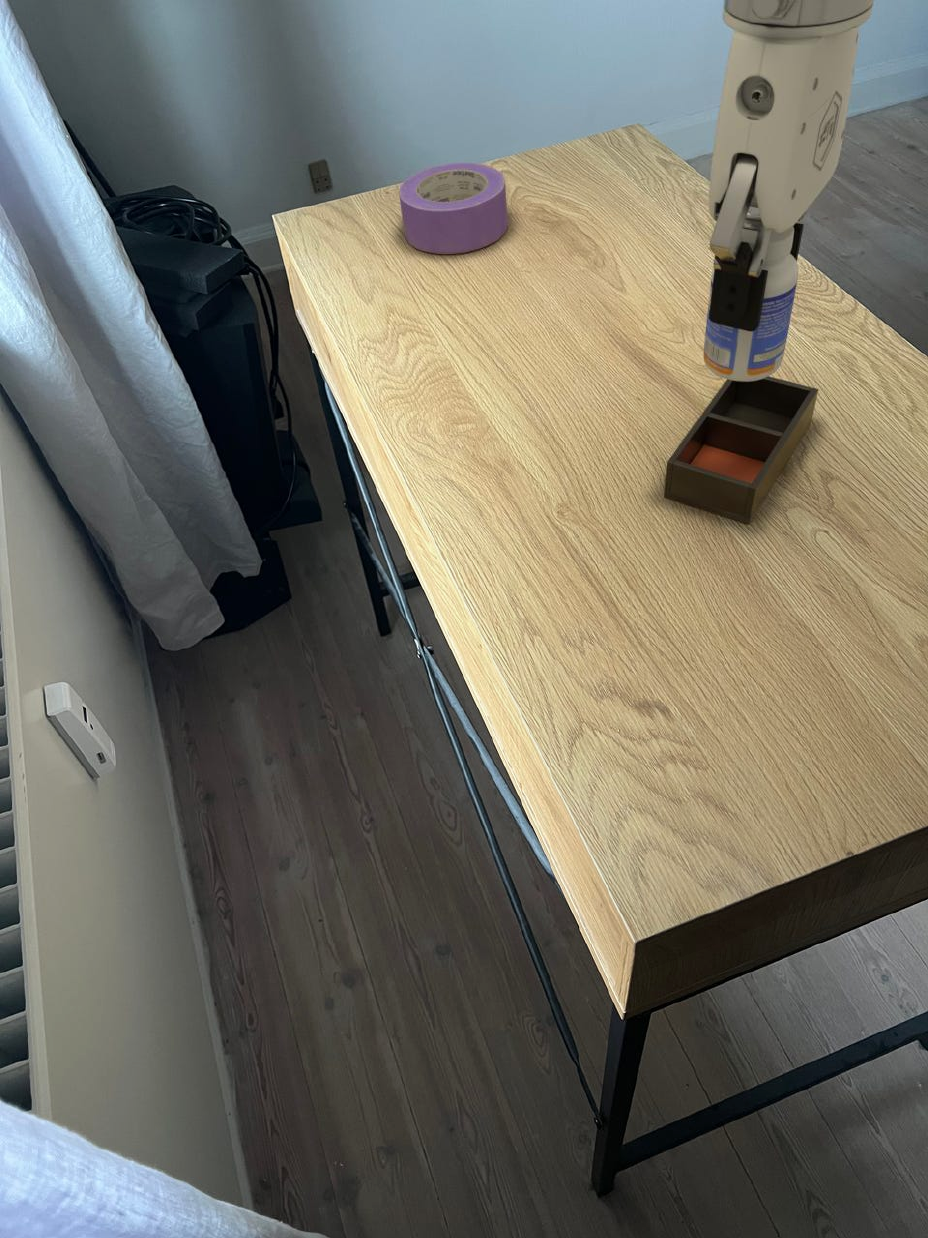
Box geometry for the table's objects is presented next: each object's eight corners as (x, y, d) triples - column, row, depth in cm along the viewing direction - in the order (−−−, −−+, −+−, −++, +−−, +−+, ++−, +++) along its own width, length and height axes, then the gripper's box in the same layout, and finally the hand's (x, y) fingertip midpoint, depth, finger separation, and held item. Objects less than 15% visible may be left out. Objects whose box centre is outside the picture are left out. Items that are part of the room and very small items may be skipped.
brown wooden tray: (810, 424, 77) (818, 388, 75) (749, 524, 70) (755, 489, 68) (730, 403, 80) (735, 367, 78) (663, 497, 73) (666, 461, 71)
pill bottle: (783, 342, 66) (808, 207, 59) (780, 387, 63) (807, 250, 56) (705, 337, 67) (720, 205, 60) (698, 381, 64) (714, 246, 57)
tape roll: (404, 211, 109) (398, 167, 106) (503, 199, 109) (500, 155, 105) (406, 261, 102) (399, 216, 98) (512, 248, 101) (509, 202, 98)
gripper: (816, 48, 42) (757, 385, 56) (922, -63, 51) (850, 251, 64) (662, 32, 45) (643, 355, 59) (788, -70, 54) (746, 231, 68)
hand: (751, 298), depth 61 cm, fingers closed on pill bottle, 5 cm apart
